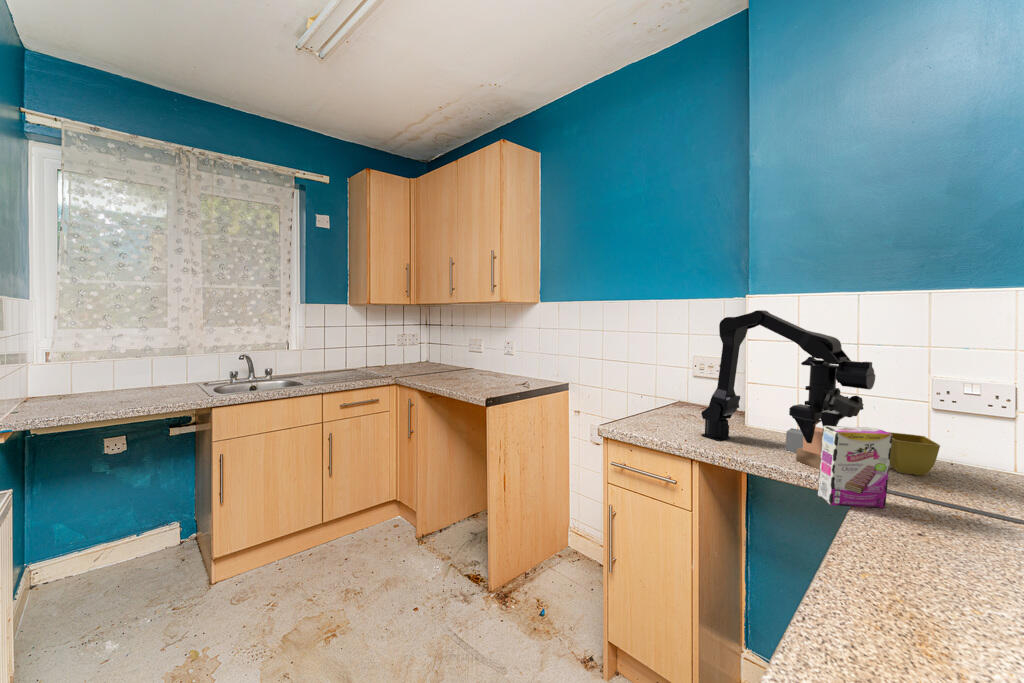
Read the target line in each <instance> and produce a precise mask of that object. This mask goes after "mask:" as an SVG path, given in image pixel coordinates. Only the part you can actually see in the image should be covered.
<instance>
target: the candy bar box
mask: <svg viewBox="0 0 1024 683" xmlns="http://www.w3.org/2000/svg"><path fill="white" fill-rule="evenodd" d="M822 428H823V434H822V447H821V461H820V471H819V472H818V473H819V475H818V486H817V487H818V488H817V497H818V498H820V499H822V501H824V502H825V503H826V504H828V505H829V506H840V507H856V508H857V507H859V508H860V507H861V508H876V509H878V508H879V509H886V504H887V503H886V502H887V493H888V483H889V472H890V471H889V470H890V453H891V443H892V434H891V433H888V432H889V431H885V430H883V429H879V428H877V427H867V426H865V427H864V426H838V425H837V426H823V425H822Z"/></svg>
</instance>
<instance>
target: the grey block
mask: <svg viewBox="0 0 1024 683" xmlns="http://www.w3.org/2000/svg"><path fill="white" fill-rule="evenodd" d="M785 433H786V436H785V452H788V451H790V453H793V452H794V453H793V454H796V450H797V449H798V448H803V434H802V432H801V430H800V428H799V429H798V428H790V429H788V430H786V432H785Z"/></svg>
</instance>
